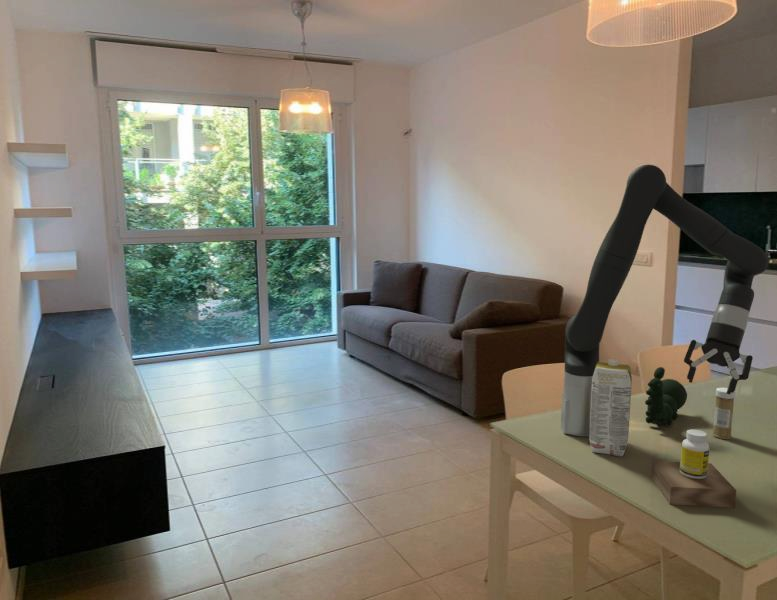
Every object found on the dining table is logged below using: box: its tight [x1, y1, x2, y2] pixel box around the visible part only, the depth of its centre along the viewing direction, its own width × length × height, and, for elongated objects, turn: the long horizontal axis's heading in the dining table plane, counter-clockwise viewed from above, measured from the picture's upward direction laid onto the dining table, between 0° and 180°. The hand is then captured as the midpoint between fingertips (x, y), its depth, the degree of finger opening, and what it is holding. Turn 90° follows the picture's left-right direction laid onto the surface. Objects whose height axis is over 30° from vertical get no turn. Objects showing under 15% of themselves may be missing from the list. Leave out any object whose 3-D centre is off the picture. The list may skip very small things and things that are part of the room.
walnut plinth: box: [650, 460, 737, 509], centre depth 132 cm, size 13×13×4 cm
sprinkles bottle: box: [712, 387, 736, 440], centre depth 162 cm, size 5×5×13 cm
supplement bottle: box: [679, 429, 710, 479], centre depth 131 cm, size 5×5×10 cm
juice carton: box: [589, 358, 633, 457], centre depth 152 cm, size 9×8×24 cm
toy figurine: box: [644, 366, 688, 427], centre depth 174 cm, size 9×19×25 cm
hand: (709, 388), depth 146 cm, fingers open, 8 cm apart
